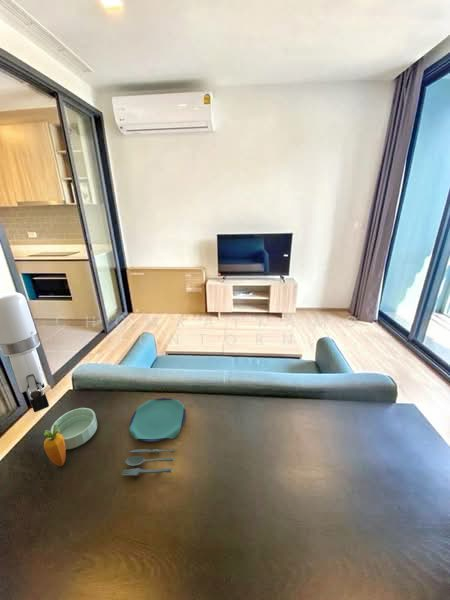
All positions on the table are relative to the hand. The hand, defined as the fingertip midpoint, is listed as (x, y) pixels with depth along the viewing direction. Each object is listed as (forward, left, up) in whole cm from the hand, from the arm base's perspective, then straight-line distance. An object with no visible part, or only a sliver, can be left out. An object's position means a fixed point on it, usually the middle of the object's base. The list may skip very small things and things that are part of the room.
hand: (39, 398), depth 67 cm
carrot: (0, 0, -26) cm, 26 cm away
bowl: (+6, +10, -26) cm, 28 cm away
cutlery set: (+27, -8, -26) cm, 38 cm away
